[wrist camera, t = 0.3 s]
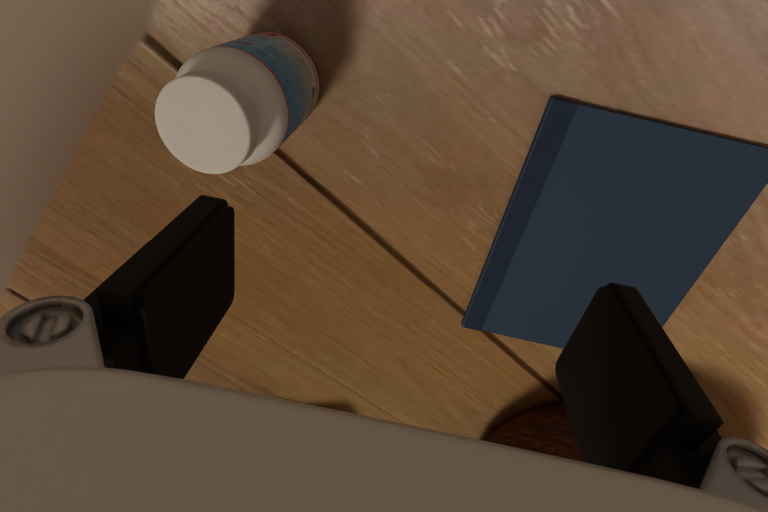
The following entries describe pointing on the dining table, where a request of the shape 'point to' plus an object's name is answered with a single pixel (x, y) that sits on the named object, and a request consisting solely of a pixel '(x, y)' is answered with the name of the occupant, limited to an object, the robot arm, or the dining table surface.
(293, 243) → the dining table surface
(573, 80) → the dining table surface
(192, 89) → the pill bottle
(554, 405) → the wooden bowl
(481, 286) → the book
